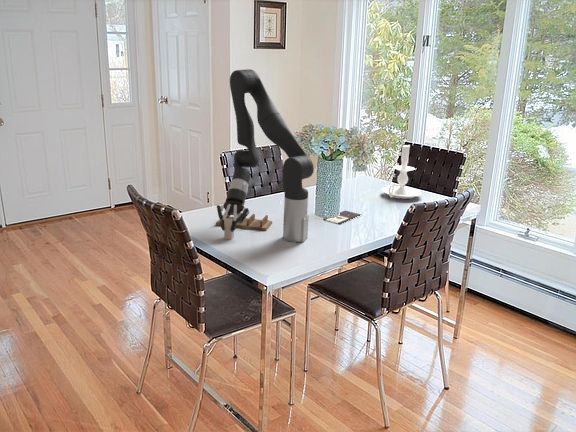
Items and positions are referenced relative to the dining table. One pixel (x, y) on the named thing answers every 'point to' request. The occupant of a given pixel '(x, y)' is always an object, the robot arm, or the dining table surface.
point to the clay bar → (228, 229)
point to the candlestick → (402, 179)
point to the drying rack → (251, 223)
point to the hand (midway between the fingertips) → (227, 230)
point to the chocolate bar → (343, 217)
